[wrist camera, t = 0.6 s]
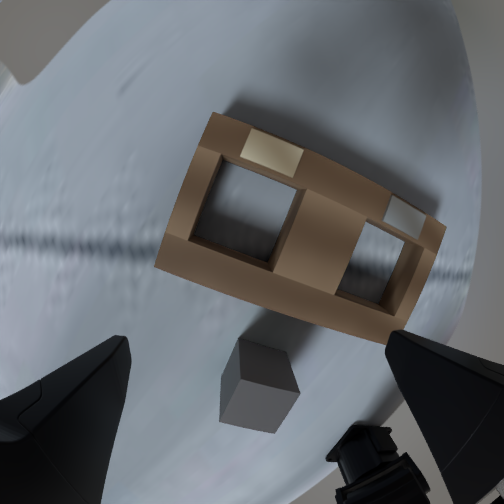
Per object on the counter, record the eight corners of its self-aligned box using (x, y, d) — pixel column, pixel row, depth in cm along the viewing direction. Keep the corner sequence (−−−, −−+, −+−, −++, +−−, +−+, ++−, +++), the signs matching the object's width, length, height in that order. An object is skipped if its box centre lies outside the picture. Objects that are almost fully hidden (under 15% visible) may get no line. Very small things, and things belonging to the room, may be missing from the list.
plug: (266, 389, 24) (274, 433, 19) (221, 377, 24) (219, 421, 18) (285, 352, 24) (300, 393, 18) (238, 337, 23) (240, 378, 17)
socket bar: (378, 332, 24) (395, 348, 21) (163, 257, 21) (152, 267, 18) (426, 223, 22) (448, 227, 19) (215, 122, 20) (212, 110, 17)
